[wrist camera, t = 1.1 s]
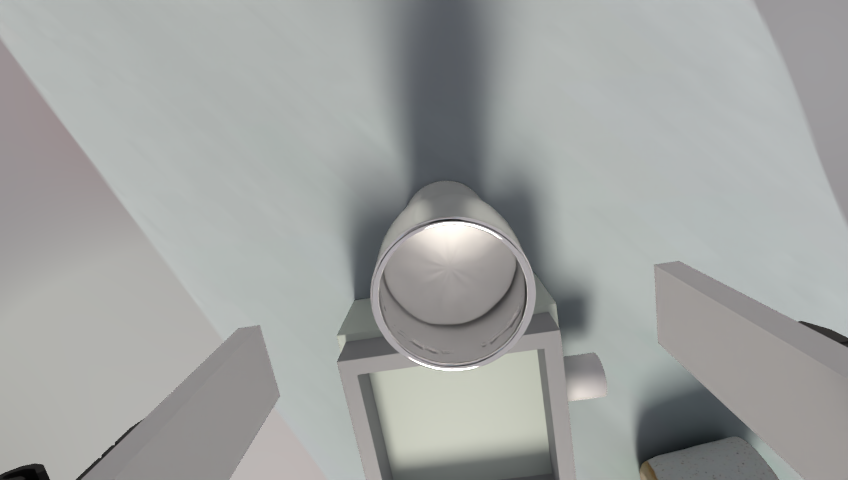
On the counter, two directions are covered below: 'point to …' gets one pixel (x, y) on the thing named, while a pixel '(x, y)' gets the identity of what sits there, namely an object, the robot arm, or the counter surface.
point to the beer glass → (451, 281)
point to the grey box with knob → (466, 405)
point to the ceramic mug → (710, 463)
